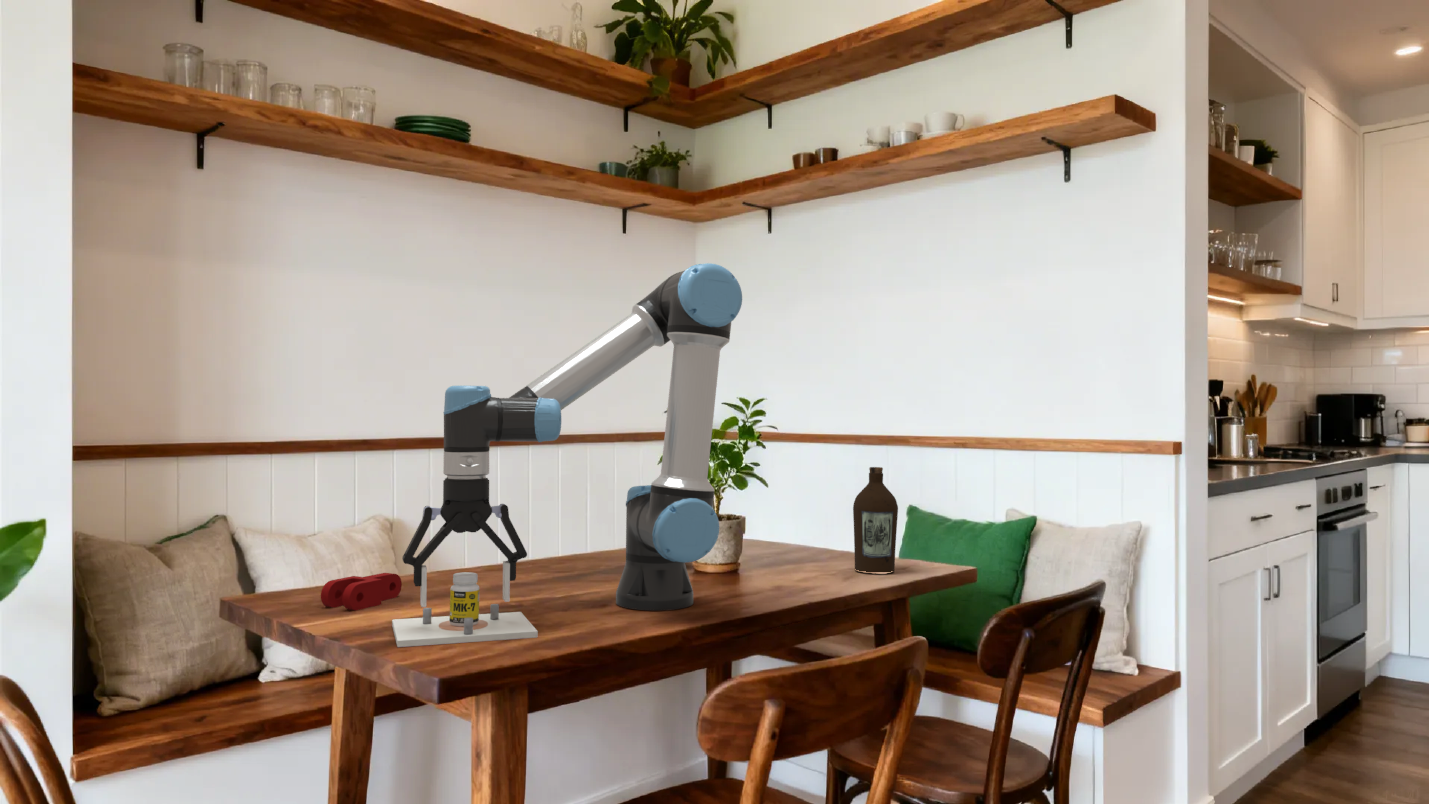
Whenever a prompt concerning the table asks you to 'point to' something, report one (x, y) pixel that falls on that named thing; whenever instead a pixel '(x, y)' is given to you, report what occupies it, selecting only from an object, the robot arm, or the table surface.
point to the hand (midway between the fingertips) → (465, 603)
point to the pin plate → (462, 628)
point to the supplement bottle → (464, 598)
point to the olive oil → (875, 525)
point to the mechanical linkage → (361, 591)
